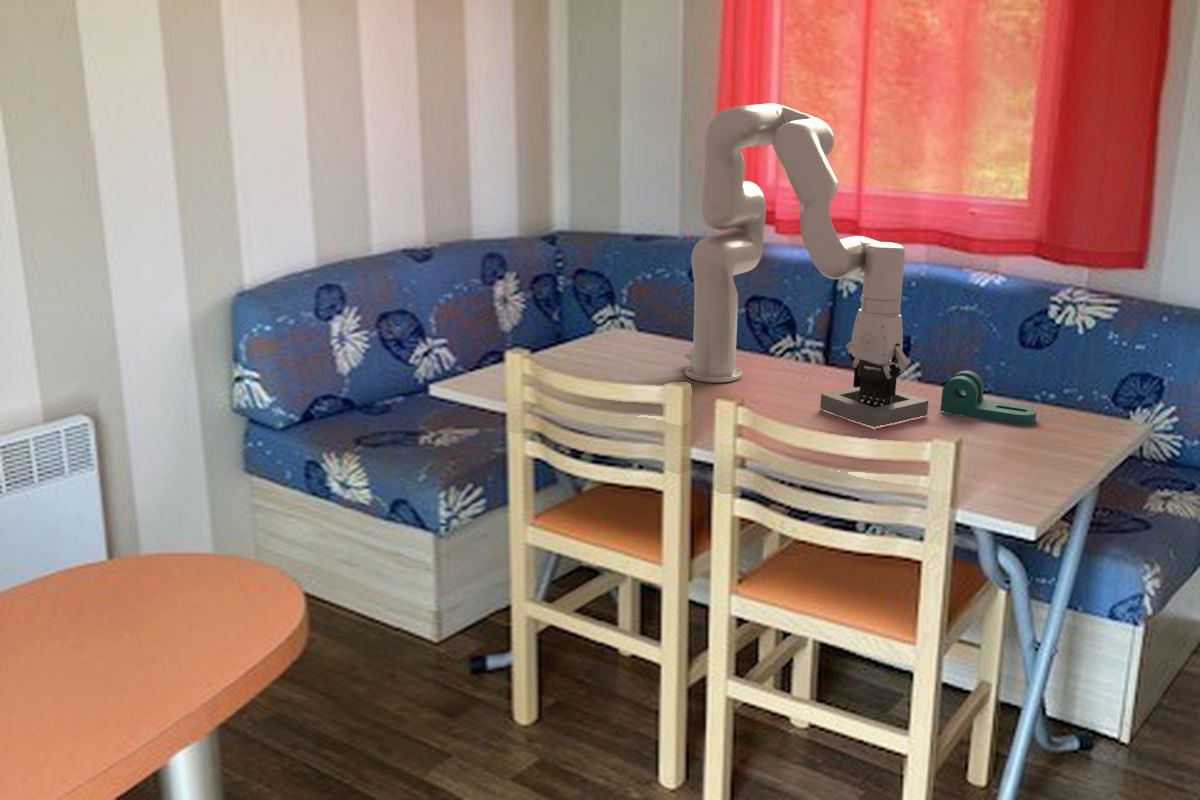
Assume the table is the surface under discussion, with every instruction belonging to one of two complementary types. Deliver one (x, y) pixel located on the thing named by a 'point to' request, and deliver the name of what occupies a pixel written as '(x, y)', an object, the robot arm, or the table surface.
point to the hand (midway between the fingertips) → (873, 390)
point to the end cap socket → (850, 408)
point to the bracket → (981, 402)
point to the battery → (872, 384)
